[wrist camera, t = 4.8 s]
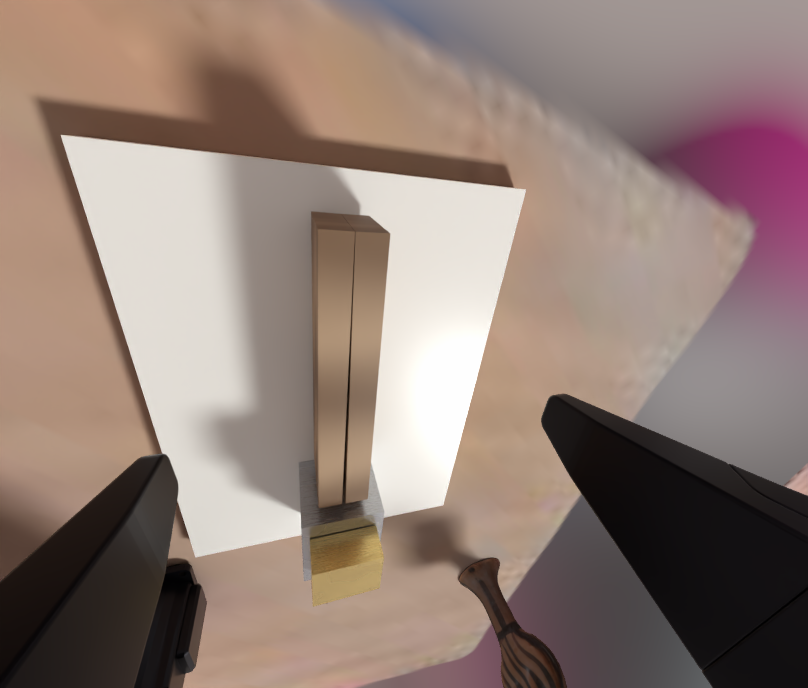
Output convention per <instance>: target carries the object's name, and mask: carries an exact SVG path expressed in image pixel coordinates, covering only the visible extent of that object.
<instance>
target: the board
mask: <svg viewBox="0 0 808 688" xmlns="http://www.w3.org/2000/svg"><path fill="white" fill-rule="evenodd" d="M61 138H62V141H63V144H64V147H65V150H66V153H67V157H68V160H69V163H70V166H71V169H72V172H73V175H74V178H75V182H76V185H77V188H78V191H79V194H80V197H81V200H82V204H83V207H84V210H85V213H86V216H87V219H88V222H89V225H90V229H91V232H92V235H93V238H94V241H95V244H96V247H97V250H98V254H99V257H100V260H101V263H102V266H103V269H104V272H105V275H106V279H107V282H108V285H109V288H110V291H111V294H112V297H113V301H114V304H115V307H116V310H117V313H118V316H119V319H120V322H121V326H122V329H123V332H124V335H125V338H126V341H127V344H128V347H129V351H130V354H131V357H132V360H133V363H134V366H135V369H136V372H137V376H138V379H139V382H140V385H141V388H142V391H143V394H144V398H145V401H146V404H147V407H148V410H149V413H150V416H151V419H152V423H153V426H154V429H155V432H156V435H157V438H158V441H159V444H160V448H161V451H162V454H166V455H167V456H168V457H169V459H170V462H171V464H172V467H173V470H174V473H175V475H176V478H177V481H178V488H179V489H178V498H177V501H178V504H179V507H180V510H181V513H182V516H183V520H184V523H185V526H186V529H187V532H188V535H189V538H190V541H191V545H192V548H193V551H194V554H195V557H199V556H204V555H209V554H214V553H218V552H223V551H228V550H233V549H237V548H242V547H247V546H252V545H256V544H261V543H266V542H271V541H275V540H280V539H285V538H290V537H295V536H299V535H302V533H301V509H300V483H299V462H303V461H310V460H314V416H313V331H312V245H311V211H313V212H325V213H337V214H351V215H365V216H370V217H371V218H372V219H374V220H375V221H376V222H377V223H378V224H380V225H381V226H382V227H383V228H384V229H386V230H387V231H388V232H389V233H390V244H389V256H388V268H387V280H386V291H385V303H384V315H383V327H382V338H381V350H380V362H379V374H378V385H377V397H376V409H375V421H374V433H373V444H372V456H371V464H372V467H373V471H374V475H375V479H376V482H377V486H378V490H379V493H380V497H381V501H382V505H383V508H384V518H385V517H390V516H394V515H399V514H404V513H409V512H413V511H418V510H423V509H428V508H432V507H437V506H442V505H443V504H444V500H445V496H446V492H447V489H448V485H449V481H450V477H451V473H452V470H453V466H454V462H455V458H456V454H457V451H458V447H459V443H460V439H461V435H462V432H463V428H464V424H465V420H466V416H467V413H468V409H469V405H470V401H471V397H472V394H473V390H474V386H475V382H476V378H477V375H478V371H479V367H480V363H481V359H482V356H483V352H484V348H485V344H486V340H487V337H488V333H489V329H490V325H491V321H492V318H493V314H494V310H495V306H496V302H497V299H498V295H499V291H500V287H501V283H502V279H503V276H504V272H505V268H506V264H507V260H508V257H509V253H510V249H511V245H512V241H513V238H514V234H515V230H516V226H517V222H518V219H519V215H520V211H521V207H522V203H523V200H524V196H525V192H526V190H525V189H519V188H513V187H504V186H496V185H487V184H479V183H471V182H462V181H454V180H445V179H437V178H428V177H420V176H412V175H403V174H395V173H386V172H378V171H369V170H361V169H353V168H344V167H336V166H327V165H319V164H310V163H302V162H294V161H285V160H277V159H268V158H260V157H252V156H243V155H235V154H226V153H218V152H209V151H201V150H193V149H184V148H176V147H167V146H159V145H150V144H142V143H134V142H125V141H117V140H108V139H100V138H92V137H83V136H72V135H61Z"/></svg>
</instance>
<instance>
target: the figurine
mask: <svg viewBox="0 0 808 688" xmlns="http://www.w3.org/2000/svg"><path fill="white" fill-rule="evenodd" d="M499 566H500V562H499V560H498V559H496V558H489V559H486V560H483V561H479V562H478V563H475V564H472V565H471V566H469V567H468V568H467V569H465V571H463V573H462V574H461V576H460V579H459V582H460V583H461V584H462V585H463V586H464V587H466V588H468V589H469V590H471V591H472V592H473V593H474V594H475V595H476V596H477V597H478V598H479V599H480V601H481V602H482V604H483V605H484V607H485V609H486V612H487V614H488V616H489V618H490V620H491V623H492V625H493V627H494V630H495V633H496V635H497V638H498V641H499V644H500V647H501V654H502V662H501V674H502V675H501V676H502V683H503V687H504V688H567V685H566V681H565V678H564V675H563V673H562V670H561V668H560V665H559V663H558V661H557V659H556V658H555V656H554V654H553V653H552V652H551V650H550V649H549V648H548V647H547V646H546V645H545V644H544V643H543V642H542V641H541V640H539V639H538V638H537V637H536V636H534V635H533V634H529V633H527V632H525V631H524V630H523V629H522V628H521V627H520V626H519V625H518V623H517V622H516V620H515V619H514V617H513V614H512V612H511V610H510V609H509V607H508V605H507V603H506V601H505V599H504V597H503V595H502V593H501V590H500V588H499V585H498V579H497V575H498V570H499Z"/></svg>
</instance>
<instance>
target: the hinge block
mask: <svg viewBox="0 0 808 688" xmlns="http://www.w3.org/2000/svg"><path fill="white" fill-rule="evenodd" d="M299 483H300V509H301V533H302V553H303V572H304V581H307V580H311V560H310V540H311V539H315V538H320V537H325V536H329V535H334V534H339V533H343V532H348V531H352V530H357V529H362V528H366V527H371V526H376V527H377V531H378V535H379V539H380V541H381V533H382V526H383V519H384V508H383V505H382V501H381V497H380V493H379V490H378V486H377V482H376V479H375V475H374V471H373V467H372V464H371V468H370V480H369V491H368V499H366V500H361V501H356V502H350V503H345V497H344V490H343V492H342V504H340V505H335V506H329V507H324V508H319V507H318V496H317V484H316V473H315V462H314V460H310V461H303V462H299Z"/></svg>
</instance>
